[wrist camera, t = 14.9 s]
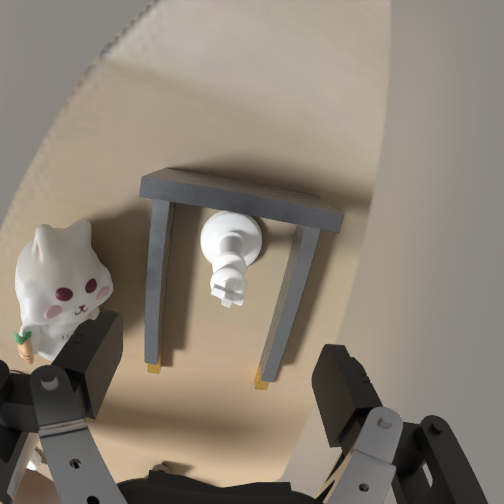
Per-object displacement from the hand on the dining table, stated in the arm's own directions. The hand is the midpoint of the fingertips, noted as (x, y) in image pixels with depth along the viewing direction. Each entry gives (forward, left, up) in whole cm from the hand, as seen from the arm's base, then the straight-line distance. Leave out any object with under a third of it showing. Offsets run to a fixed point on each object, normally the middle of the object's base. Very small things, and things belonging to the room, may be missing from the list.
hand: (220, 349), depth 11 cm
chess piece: (0, 0, -14) cm, 14 cm away
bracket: (0, -4, -14) cm, 15 cm away
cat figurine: (-14, -6, -14) cm, 21 cm away
